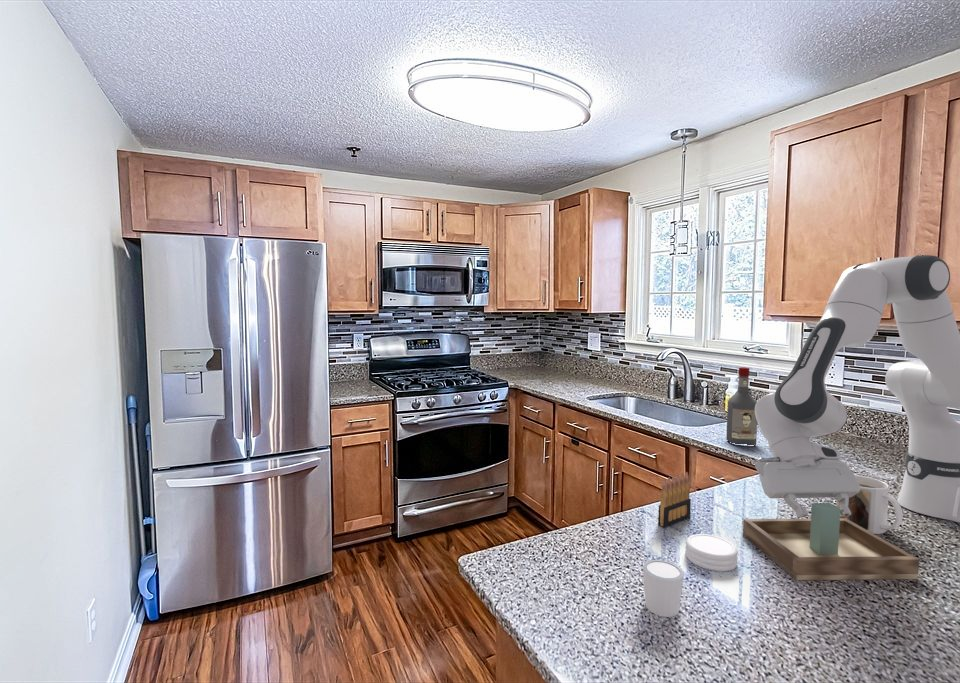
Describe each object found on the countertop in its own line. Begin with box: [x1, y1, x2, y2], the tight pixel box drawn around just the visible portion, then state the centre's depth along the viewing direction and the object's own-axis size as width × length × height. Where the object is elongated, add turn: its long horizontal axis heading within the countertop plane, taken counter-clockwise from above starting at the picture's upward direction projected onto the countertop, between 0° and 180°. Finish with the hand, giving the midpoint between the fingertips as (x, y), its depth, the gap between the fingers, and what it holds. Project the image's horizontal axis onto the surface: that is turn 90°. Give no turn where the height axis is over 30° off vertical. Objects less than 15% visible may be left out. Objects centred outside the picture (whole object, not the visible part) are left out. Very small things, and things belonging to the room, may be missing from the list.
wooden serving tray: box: [742, 518, 920, 581], centre depth 103 cm, size 24×18×4 cm
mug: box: [835, 474, 904, 535], centre depth 116 cm, size 10×12×11 cm
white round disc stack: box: [684, 533, 739, 572], centre depth 102 cm, size 10×10×4 cm
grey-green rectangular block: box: [809, 502, 841, 555], centre depth 103 cm, size 4×3×10 cm
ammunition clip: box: [657, 471, 692, 529], centre depth 119 cm, size 11×2×12 cm, turn 123°
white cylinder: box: [642, 559, 685, 618], centre depth 85 cm, size 7×7×7 cm
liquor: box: [725, 366, 758, 445], centre depth 188 cm, size 9×9×30 cm
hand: (824, 516), depth 103 cm, fingers open, 8 cm apart
